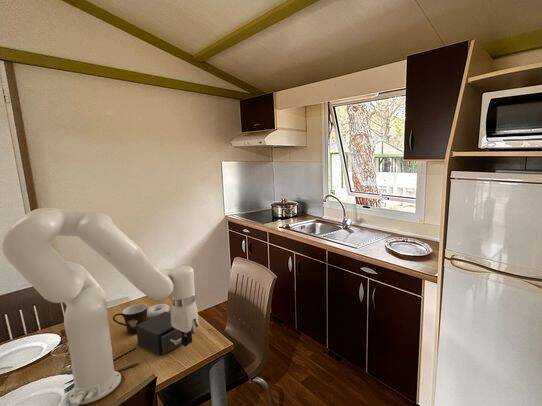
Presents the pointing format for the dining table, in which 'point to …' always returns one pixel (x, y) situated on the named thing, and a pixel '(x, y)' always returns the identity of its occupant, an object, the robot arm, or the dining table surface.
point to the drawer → (170, 340)
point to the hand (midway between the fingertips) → (187, 343)
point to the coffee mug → (133, 317)
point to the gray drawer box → (153, 332)
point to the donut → (157, 310)
